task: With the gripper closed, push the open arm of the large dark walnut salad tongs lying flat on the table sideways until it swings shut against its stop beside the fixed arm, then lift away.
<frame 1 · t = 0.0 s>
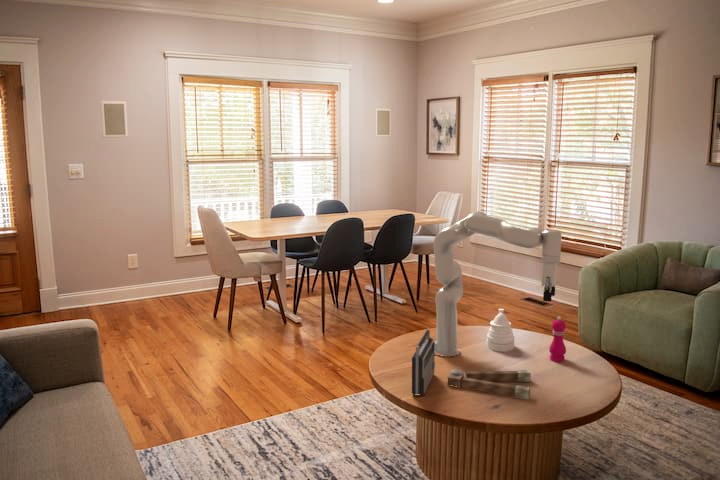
hand: (549, 298, 257), 31 cm above the table, tool pointing down, fingers open, 9 cm apart
radio: (424, 384, 247), on the table
tongs arm: (498, 375, 249), point 2 cm above the table, hinge at 25.0°
tongs base: (456, 381, 250), on the table
honey pot: (500, 347, 289), on the table
pepper mill: (557, 359, 272), on the table
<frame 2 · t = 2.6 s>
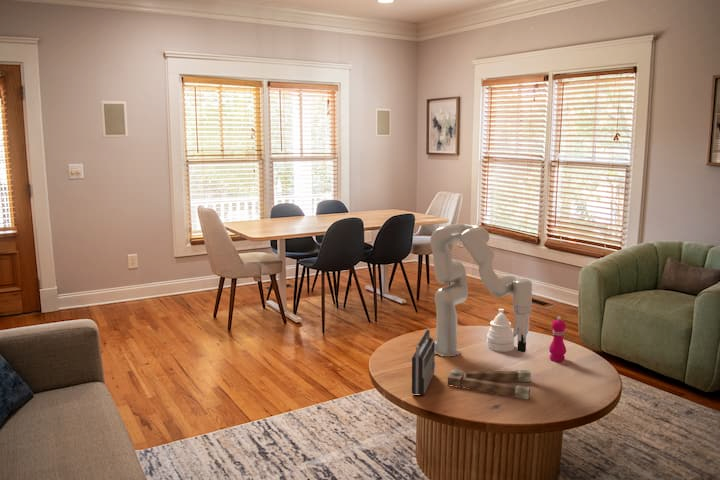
hand: (521, 351, 254), 10 cm above the table, tool pointing down, fingers closed
nothing on the table moved.
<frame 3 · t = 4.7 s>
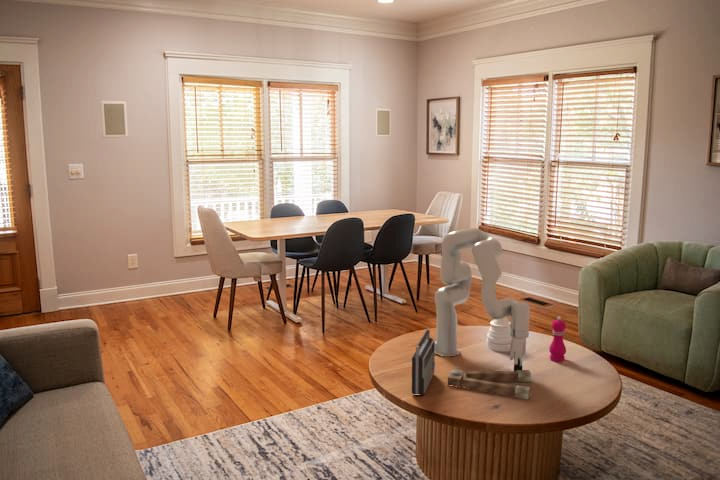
hand: (517, 374, 253), 1 cm above the table, tool pointing down, fingers closed
tongs arm: (498, 375, 249), point 2 cm above the table, hinge at 25.0°, touching gripper
everything else where it was.
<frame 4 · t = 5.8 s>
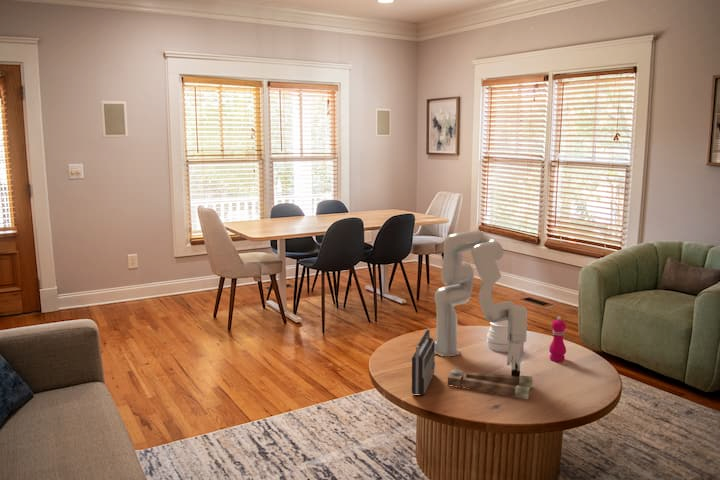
hand: (515, 379, 247), 1 cm above the table, tool pointing down, fingers closed
tongs arm: (498, 379, 245), point 2 cm above the table, hinge at 12.1°, touching gripper
everything else where it was.
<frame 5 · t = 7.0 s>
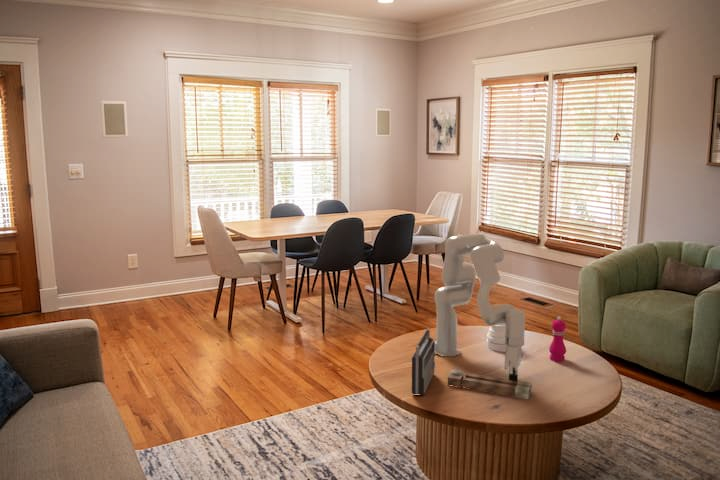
hand: (513, 384, 242), 2 cm above the table, tool pointing down, fingers closed
tongs arm: (497, 383, 242), point 2 cm above the table, hinge at -0.2°, touching gripper
everything else where it was.
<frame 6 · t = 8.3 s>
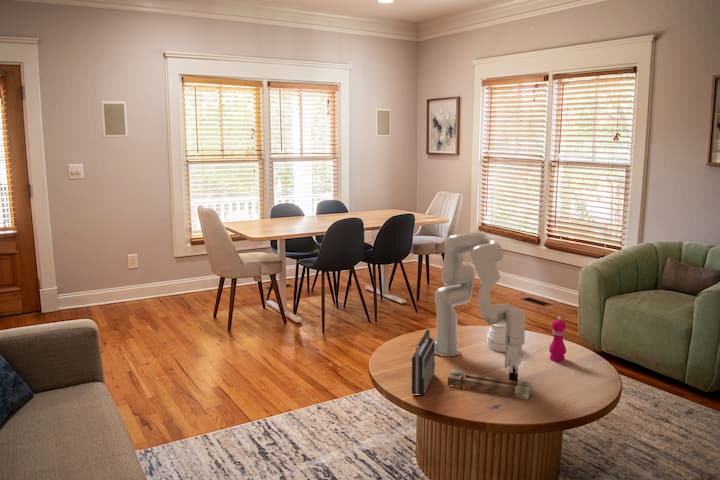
hand: (513, 382, 245), 1 cm above the table, tool pointing down, fingers closed
tongs arm: (497, 383, 242), point 2 cm above the table, hinge at -0.5°
everything else where it was.
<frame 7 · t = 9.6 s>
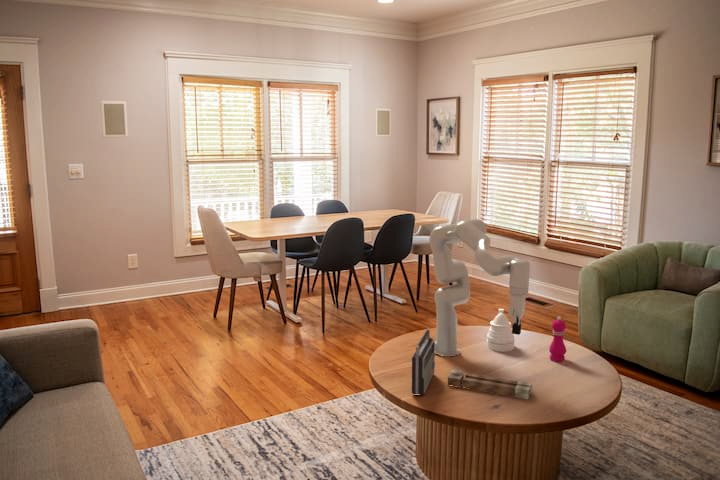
hand: (516, 333, 246), 20 cm above the table, tool pointing down, fingers closed
nothing on the table moved.
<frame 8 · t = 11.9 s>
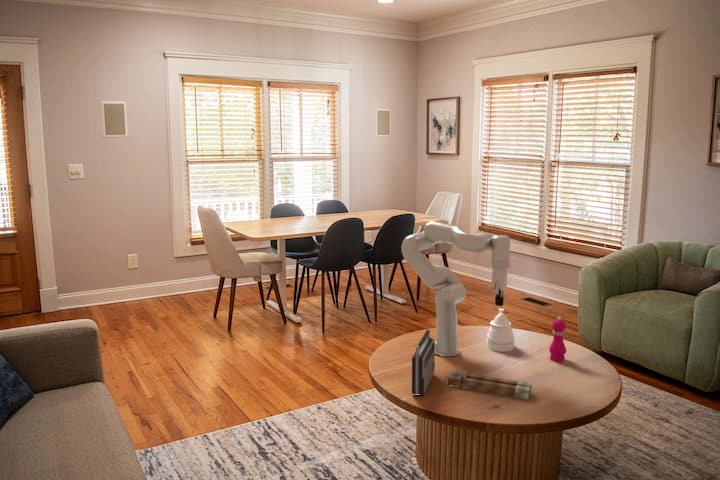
hand: (499, 305, 262), 27 cm above the table, tool pointing down, fingers closed
nothing on the table moved.
at the end: tongs arm at +0° (first picture: +25°); the gripper is holding nothing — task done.
